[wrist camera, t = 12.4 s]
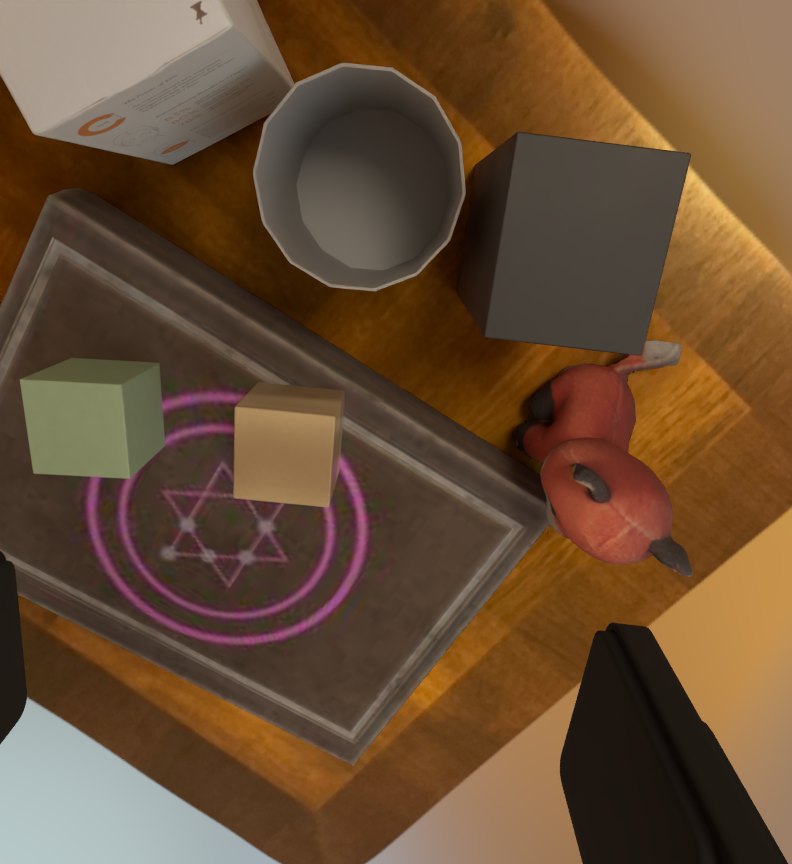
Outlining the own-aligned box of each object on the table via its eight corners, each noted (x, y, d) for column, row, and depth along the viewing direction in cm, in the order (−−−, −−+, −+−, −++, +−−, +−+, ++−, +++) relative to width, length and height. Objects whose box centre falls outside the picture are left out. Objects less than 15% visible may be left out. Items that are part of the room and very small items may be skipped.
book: (-41, 498, 41) (-100, 535, 36) (100, 189, 35) (51, 184, 30) (358, 709, 46) (353, 767, 41) (546, 472, 39) (565, 506, 35)
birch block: (257, 381, 33) (234, 406, 28) (345, 390, 33) (335, 416, 28) (255, 463, 34) (232, 499, 30) (339, 471, 34) (329, 508, 30)
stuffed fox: (705, 365, 37) (836, 431, 26) (583, 508, 40) (652, 624, 29) (605, 292, 36) (696, 328, 24) (487, 446, 39) (520, 541, 28)
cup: (480, 165, 34) (507, 145, 24) (400, 299, 36) (397, 327, 27) (343, 74, 32) (315, 15, 23) (270, 219, 35) (217, 219, 25)
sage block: (70, 357, 33) (18, 379, 28) (159, 362, 33) (121, 384, 28) (80, 441, 34) (32, 474, 30) (165, 445, 34) (130, 479, 30)
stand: (474, 164, 34) (517, 131, 20) (581, 178, 34) (692, 153, 21) (456, 293, 36) (483, 337, 23) (556, 305, 36) (642, 356, 23)
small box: (244, -33, 31) (135, -195, 19) (302, 98, 33) (238, 28, 21) (106, 46, 32) (-82, -58, 20) (170, 168, 34) (34, 141, 22)
